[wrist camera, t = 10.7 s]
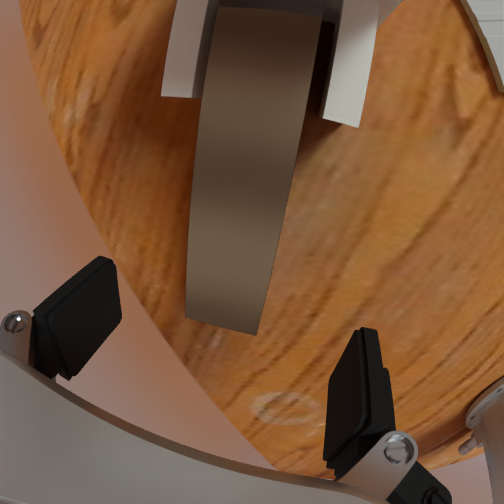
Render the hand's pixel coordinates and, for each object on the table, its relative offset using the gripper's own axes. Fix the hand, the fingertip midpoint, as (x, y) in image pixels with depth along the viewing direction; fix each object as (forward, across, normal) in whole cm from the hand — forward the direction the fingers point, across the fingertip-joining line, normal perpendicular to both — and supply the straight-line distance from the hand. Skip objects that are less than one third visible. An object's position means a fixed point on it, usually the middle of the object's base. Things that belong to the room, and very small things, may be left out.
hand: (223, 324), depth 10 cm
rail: (+10, +1, -4) cm, 11 cm away
